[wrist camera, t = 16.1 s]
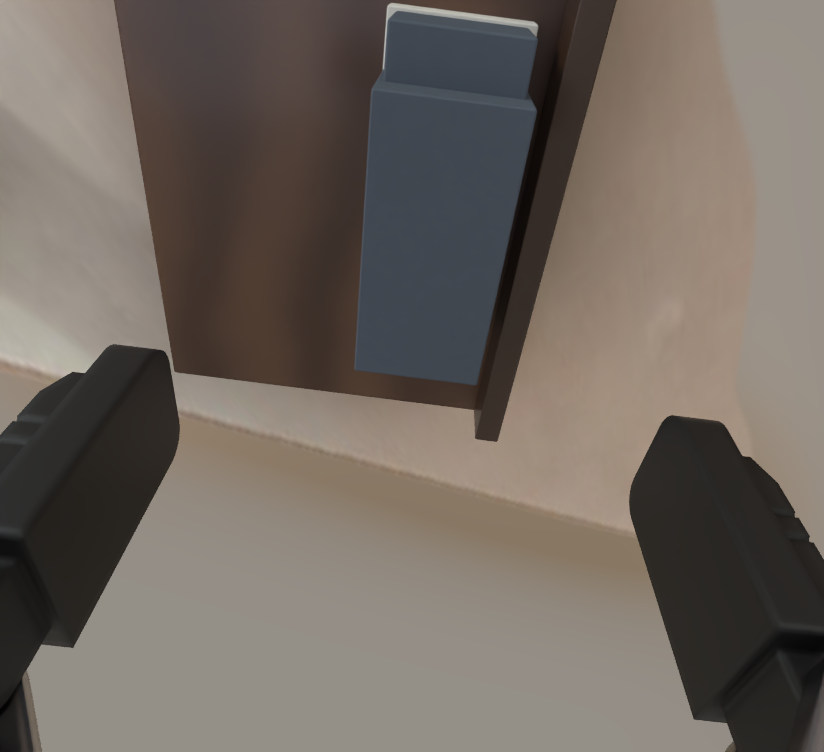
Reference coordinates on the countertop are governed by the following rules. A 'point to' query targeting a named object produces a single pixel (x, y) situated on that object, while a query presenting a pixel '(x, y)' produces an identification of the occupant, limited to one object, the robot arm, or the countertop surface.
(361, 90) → the board
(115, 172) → the countertop surface
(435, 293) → the stepped grey pillar
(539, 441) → the countertop surface
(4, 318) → the countertop surface
